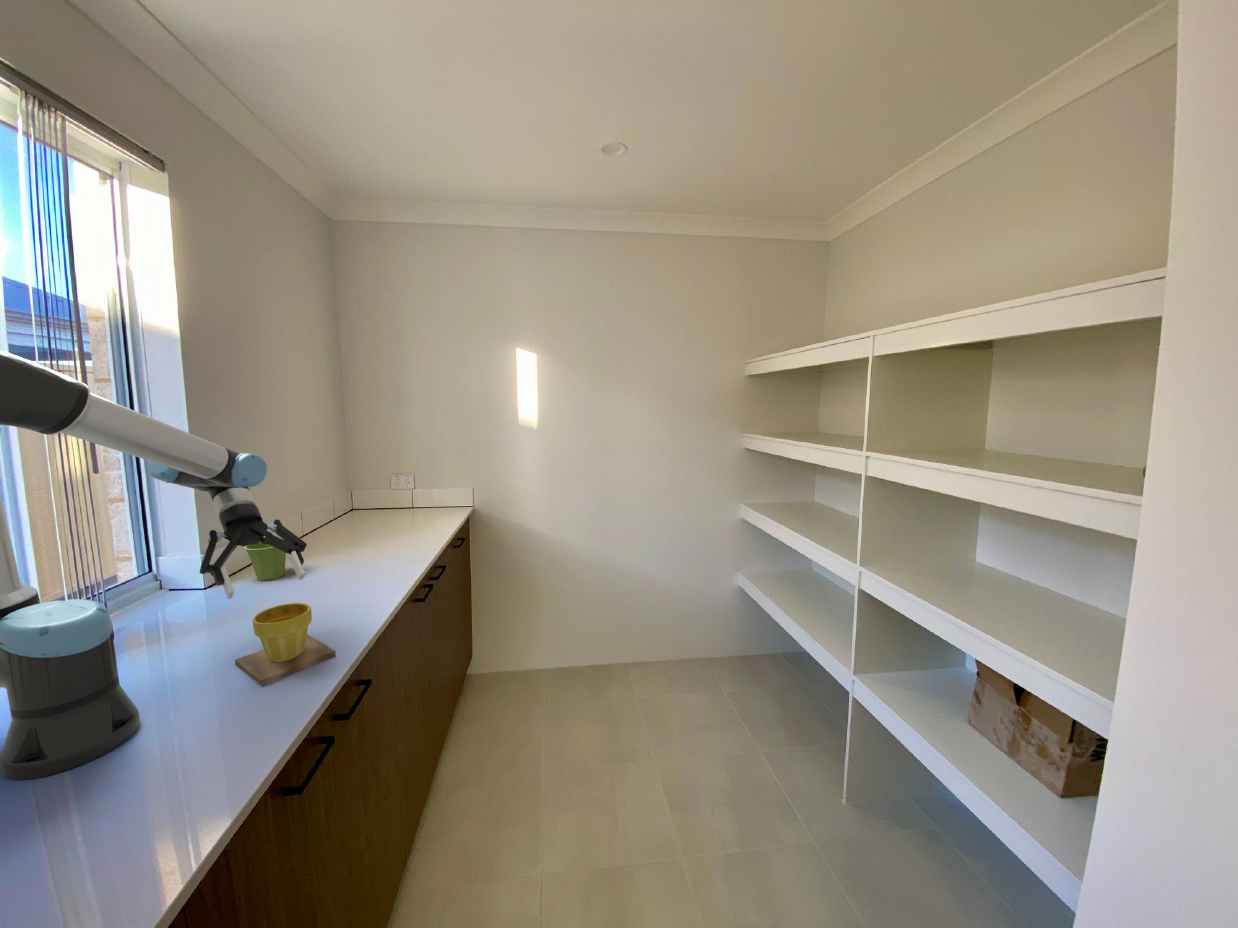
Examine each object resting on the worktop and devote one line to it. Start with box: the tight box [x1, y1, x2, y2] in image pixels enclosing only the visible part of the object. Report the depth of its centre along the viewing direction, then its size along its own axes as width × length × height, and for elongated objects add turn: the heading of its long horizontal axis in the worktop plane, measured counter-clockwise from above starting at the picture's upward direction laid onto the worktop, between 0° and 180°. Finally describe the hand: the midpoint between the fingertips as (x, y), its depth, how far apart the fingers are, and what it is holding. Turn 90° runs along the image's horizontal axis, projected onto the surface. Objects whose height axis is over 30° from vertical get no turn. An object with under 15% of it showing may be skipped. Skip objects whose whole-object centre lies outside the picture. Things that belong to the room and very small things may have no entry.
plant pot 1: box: [243, 537, 287, 582], centre depth 155 cm, size 12×12×11 cm
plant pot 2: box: [252, 602, 313, 662], centre depth 104 cm, size 10×10×10 cm
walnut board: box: [234, 633, 336, 687], centre depth 105 cm, size 14×14×1 cm
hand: (268, 585), depth 108 cm, fingers open, 13 cm apart
